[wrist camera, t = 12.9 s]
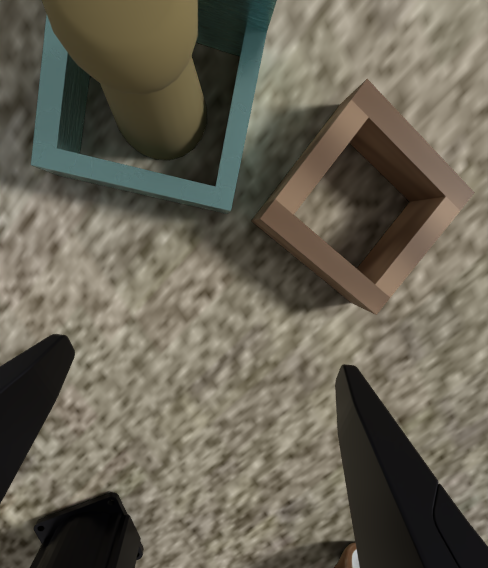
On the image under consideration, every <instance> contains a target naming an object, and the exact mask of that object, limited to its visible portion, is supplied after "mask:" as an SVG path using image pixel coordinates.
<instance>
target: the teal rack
mask: <svg viewBox="0 0 488 568" xmlns="http://www.w3.org/2000/svg"><path fill="white" fill-rule="evenodd" d="M276 1H277V0H198V36H197V39H196V43H200V44H203V45H206V46H209V47H212V48H215V49H218V50H221V51H225V52H228V53H231V54H234V55H237V56H240V59H239V64H238V70H237V75H236V80H235V85H234V91H233V96H232V101H231V106H230V112H229V117H228V122H227V127H226V133H225V138H224V143H223V148H222V154H221V159H220V164H219V169H218V175H217V180H216V185H215V186H211V185H207V184H202V183H198V182H194V181H190V180H186V179H182V178H178V177H173V176H169V175H165V174H161V173H157V172H153V171H149V170H144V169H140V168H136V167H132V166H128V165H124V164H120V163H115V162H111V161H107V160H103V159H99V158H95V157H91V156H86V155H82V154H80V148H81V141H82V133H83V125H84V117H85V109H86V101H87V93H88V85H89V77H90V75H89V74H88V73H87V72H85V71H84V70H83V69H82V68H81V67H79V66H78V65H77V64H76V63H75V61H74V60H73V59H72V58H71V56H70V55H69V54H68V52H67V51H66V49H65V48H64V47H63V45H62V44H61V42H60V41H59V40H58V38H57V37H56V35H55V34H54V32H53V30H52V27H51V24H50V21H49V19H48V16H47V15H46V25H45V35H44V44H43V54H42V63H41V73H40V83H39V92H38V102H37V112H36V121H35V131H34V140H33V150H32V160H31V165H32V166H35V167H37V168H40V169H42V170H45V171H47V172H50V173H52V174H55V175H58V176H62V177H67V178H71V179H75V180H80V181H84V182H89V183H93V184H97V185H102V186H106V187H111V188H115V189H119V190H124V191H128V192H133V193H137V194H141V195H146V196H150V197H155V198H159V199H163V200H168V201H172V202H177V203H181V204H185V205H190V206H194V207H199V208H203V209H207V210H212V211H216V212H221V213H225V214H228V213H229V212H230V211H231V208H232V203H233V198H234V193H235V188H236V183H237V178H238V173H239V168H240V163H241V158H242V153H243V148H244V143H245V138H246V133H247V128H248V123H249V118H250V113H251V108H252V103H253V98H254V93H255V88H256V83H257V78H258V73H259V68H260V63H261V58H262V53H263V48H264V43H265V38H266V33H267V30H268V26H269V23H270V20H271V17H272V14H273V11H274V7H275V4H276Z"/></svg>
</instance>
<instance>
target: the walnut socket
mask: <svg viewBox="0 0 488 568" xmlns="http://www.w3.org/2000/svg"><path fill="white" fill-rule="evenodd" d="M348 143H350V144H351V145H352V146H353V147H354V148H355V149H356V150H357V151H358V152H359V153H360V154H361V155H362V156H363V157H364V158H366V159H367V160H368V161H369V162H370V163H371V164H372V165H373V166H374V167H375V168H376V169H377V170H378V171H379V172H380V173H381V174H382V175H383V176H384V177H385V178H386V179H387V180H388V181H389V182H390V183H391V184H392V185H393V186H394V187H395V188H396V189H397V190H398V191H399V192H400V193H401V194H402V195H403V196H404V197H405V198H406V199H407V200H409V201H410V202H409V204H408V205H407V206H406V207H405V209H404V210H403V211H402V212H401V214H400V215H399V216H398V217H397V219H396V220H395V221H394V222H393V224H392V225H391V226H390V228H389V229H388V230H387V231H386V233H385V234H384V235H383V236H382V238H381V239H380V240H379V241H378V243H377V244H376V245H375V246H374V248H373V249H372V250H371V251H370V253H369V254H368V255H367V256H366V258H365V259H364V260H363V261H362V263H361V264H360V265H359V266H358V268H357V269H356V268H355V267H354V266H353V265H352V264H350V263H349V262H348V261H347V260H346V259H345V258H343V257H342V256H341V255H340V254H339V253H338V252H336V251H335V250H334V249H333V248H332V247H331V246H329V245H328V244H327V243H326V242H325V241H324V240H322V239H321V238H320V237H319V236H318V235H317V234H315V233H314V232H313V231H312V230H311V229H310V228H308V227H307V226H306V225H305V224H304V223H303V222H301V221H300V220H299V219H298V218H297V217H296V216H294V213H295V212H296V211H297V210H298V208H299V207H300V206H301V204H302V203H303V202H304V200H305V199H306V198H307V197H308V195H309V194H310V193H311V191H312V190H313V189H314V187H315V186H316V185H317V184H318V182H319V181H320V180H321V178H322V177H323V176H324V175H325V173H326V172H327V171H328V169H329V168H330V167H331V165H332V164H333V163H334V162H335V160H336V159H337V158H338V156H339V155H340V154H341V153H342V151H343V150H344V149H345V147H346V146H347V145H348ZM473 195H474V191H473V190H472V189H471V188H470V187H469V186H468V185H467V184H466V183H465V182H464V181H463V180H462V179H461V178H460V177H459V176H458V175H457V173H456V172H455V171H454V170H453V169H452V168H451V167H450V166H449V165H448V164H447V163H446V162H445V161H444V160H443V159H442V158H441V156H440V155H439V154H438V153H437V152H436V151H435V150H434V149H433V148H432V147H431V146H430V145H429V144H428V143H427V142H426V141H425V140H424V138H423V137H422V136H421V135H420V134H419V133H418V132H417V131H416V130H415V129H414V128H413V127H412V126H411V125H410V124H409V123H408V121H407V120H406V119H405V118H404V117H403V116H402V115H401V114H400V113H399V112H398V111H397V110H396V109H395V108H394V107H393V106H392V105H391V103H390V102H389V101H388V100H387V99H386V98H385V97H384V96H383V95H382V94H381V93H380V92H379V91H378V90H377V89H376V88H375V86H374V85H373V84H372V83H371V82H370V81H369V80H368V79H366V80H365V81H364V82H363V83H362V84H361V85H360V86H359V87H358V88H357V89H356V90H355V91H354V92H353V93H352V94H351V95H350V96H348V97H347V98H346V99H345V100H344V101H343V102H342V103H341V104H340V105H339V107H338V108H337V109H336V111H335V112H334V113H333V115H332V116H331V117H330V118H329V120H328V121H327V122H326V124H325V125H324V126H323V128H322V129H321V130H320V132H319V133H318V134H317V135H316V137H315V138H314V139H313V141H312V142H311V143H310V145H309V146H308V147H307V149H306V150H305V151H304V152H303V154H302V155H301V156H300V158H299V159H298V160H297V162H296V163H295V164H294V166H293V167H292V168H291V170H290V171H289V172H288V173H287V175H286V176H285V177H284V179H283V180H282V181H281V183H280V184H279V185H278V187H277V188H276V189H275V190H274V192H273V193H272V194H271V196H270V197H269V198H268V200H267V201H266V202H265V204H264V205H263V206H262V207H261V209H260V210H259V211H258V213H257V214H256V215H255V217H254V218H253V219H252V222H253V223H254V224H255V225H257V226H258V227H259V228H260V229H262V230H263V231H264V232H265V233H266V234H268V235H269V236H270V237H271V238H273V239H274V240H275V241H276V242H277V243H279V244H280V245H281V246H282V247H284V248H285V249H286V250H287V251H288V252H290V253H291V254H292V255H293V256H295V257H296V258H297V259H298V260H299V261H301V262H302V263H303V264H304V265H306V266H307V267H308V268H309V269H310V270H312V271H313V272H314V273H315V274H317V275H318V276H319V277H320V278H321V279H323V280H324V281H325V282H326V283H328V284H329V285H330V286H331V287H332V288H334V289H335V290H336V291H337V292H339V293H340V294H341V295H342V296H344V297H345V298H346V299H347V300H348V301H350V302H351V303H353V304H355V305H357V306H359V307H361V308H363V309H365V310H367V311H369V312H372V313H374V314H376V315H377V313H378V312H379V311H380V310H381V308H382V307H383V306H384V305H385V303H386V302H387V301H388V300H389V299H390V297H391V296H392V295H393V294H394V292H395V291H396V290H397V289H398V287H399V286H400V285H401V284H402V282H403V281H404V280H405V279H406V277H407V276H408V275H409V274H410V273H411V271H412V270H413V269H414V268H415V266H416V265H417V264H418V263H419V261H420V260H421V259H422V258H423V256H424V255H425V254H426V253H427V251H428V250H429V249H430V248H431V247H432V245H433V244H434V243H435V242H436V240H437V239H438V238H439V237H440V235H441V234H442V233H443V232H444V230H445V229H446V228H447V227H448V226H449V224H450V223H451V222H452V221H453V219H454V218H455V217H456V216H457V214H458V213H459V212H460V211H461V209H462V208H463V207H464V206H465V204H466V203H467V202H468V201H469V200H470V198H471V197H472V196H473Z"/></svg>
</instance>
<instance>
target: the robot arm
mask: <svg viewBox="0 0 488 568" xmlns="http://www.w3.org/2000/svg"><path fill="white" fill-rule="evenodd" d="M74 356H75V350H74V348H73V346H72V344H71V342H70V340H69V338H68V337H67V336H66V335H61V334H53V335H50V336H49V337H47V338H45V339H44V340H42V341H41V342H39V343H37V344H36V345H34V346H32V347H31V348H29V349H28V350H26V351H24V352H23V353H21V354H20V355H18V356H16V357H15V358H13V359H12V360H10V361H8V362H7V363H5V364H3V365H2V366H0V503H1V501H2V500H3V498H4V496H5V494H6V492H7V490H8V489H9V487H10V485H11V483H12V481H13V479H14V477H15V476H16V474H17V472H18V470H19V468H20V466H21V464H22V463H23V461H24V459H25V457H26V455H27V453H28V452H29V450H30V448H31V446H32V444H33V442H34V440H35V439H36V437H37V435H38V433H39V431H40V429H41V428H42V426H43V424H44V422H45V420H46V418H47V416H48V415H49V413H50V411H51V409H52V407H53V405H54V403H55V401H56V399H57V397H58V395H59V393H60V390H61V388H62V385H63V383H64V381H65V378H66V376H67V374H68V371H69V369H70V366H71V364H72V362H73V359H74ZM335 389H336V409H337V428H338V438H339V445H340V451H341V457H342V463H343V469H344V476H345V482H346V488H347V494H348V500H349V506H350V512H351V518H352V524H353V530H354V536H355V543H356V549H357V555H358V561H359V567H360V568H488V546H487V545H486V544H485V542H484V541H483V540H482V539H481V537H480V536H479V535H478V534H477V532H476V531H475V530H474V529H473V527H472V526H471V525H470V524H469V522H468V521H467V519H466V518H465V517H464V515H463V514H462V513H461V511H460V510H459V509H458V507H457V506H456V505H455V503H454V502H453V501H452V499H451V498H450V497H449V495H448V494H447V492H446V491H445V490H444V488H443V487H442V485H441V484H438V480H437V478H436V477H435V476H434V474H433V473H432V471H431V470H430V469H429V467H428V466H427V464H426V463H425V462H424V460H423V459H422V457H421V456H420V455H419V453H418V452H417V451H416V449H415V448H414V446H413V445H412V444H411V442H410V441H409V439H408V438H407V437H406V435H405V434H404V432H403V431H402V430H401V428H400V427H399V425H398V424H397V423H396V421H395V420H394V418H393V417H392V416H391V414H390V413H389V411H388V410H387V409H386V407H385V406H384V404H383V403H382V402H381V400H380V399H379V397H378V396H377V395H376V393H375V392H374V390H373V389H372V388H371V386H370V385H369V383H368V382H367V381H366V379H365V378H364V376H363V375H362V374H361V372H360V371H359V369H358V368H357V367H356V366H354V365H345V364H344V365H342V366H341V368H340V370H339V373H338V376H337V378H336V383H335ZM111 500H114V501H111ZM34 531H35V533H36V534H37V536H38V538H39V540H40V542H41V543H42V545H41V547H40V549H39V551H38V553H37V555H36V557H35V559H34V561H33V563H32V565H31V567H30V568H135V564H136V560H138V559H140V558H141V557H142V555H143V550H144V549H143V546H142V544H141V542H140V536H139V534H138V532H137V530H136V528H135V526H134V523H133V521H132V519H131V517H130V516H129V515H128V514H127V512H126V510H125V508H124V506H123V504H122V502H121V499H120V497H119V495H118V494H117V493H113V492H112V493H109V494H106V495H103V496H101V497H98V498H95V499H92V500H90V501H87V502H84V503H82V504H79V505H76V506H74V507H71V508H68V509H65V510H63V511H60V512H57V513H55V514H52V515H49V516H47V517H44V518H41V519H39V520H38V521H37V523H36V525H35V527H34Z"/></svg>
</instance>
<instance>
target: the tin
mask: <svg viewBox="0 0 488 568" xmlns="http://www.w3.org/2000/svg"><path fill="white" fill-rule="evenodd" d="M334 568H360V567H359V561H358V555H357V549H356V543H355V542H354V543H351V544H349V545H348V546H347V547H346V548H345V550H344V551H343V553H342V555H341V557H340V559H339V561H338V563H337V564H336V566H335V567H334Z"/></svg>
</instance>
